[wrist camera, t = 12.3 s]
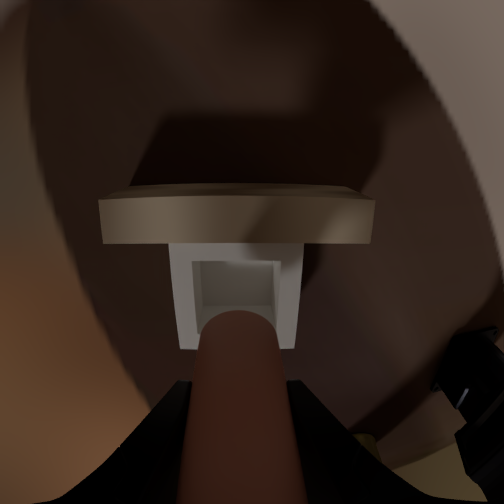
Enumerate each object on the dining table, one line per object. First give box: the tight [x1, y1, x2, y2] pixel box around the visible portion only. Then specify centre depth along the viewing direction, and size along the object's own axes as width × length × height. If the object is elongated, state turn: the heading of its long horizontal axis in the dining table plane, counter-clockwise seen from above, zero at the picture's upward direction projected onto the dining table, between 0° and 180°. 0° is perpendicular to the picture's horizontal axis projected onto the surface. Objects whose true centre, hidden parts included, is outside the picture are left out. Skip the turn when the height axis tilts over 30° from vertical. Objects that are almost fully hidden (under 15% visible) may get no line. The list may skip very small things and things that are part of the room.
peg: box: [176, 310, 308, 504], centre depth 7 cm, size 3×3×9 cm
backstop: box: [99, 183, 375, 244], centre depth 14 cm, size 12×2×4 cm, turn 89°
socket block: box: [169, 243, 304, 349], centre depth 16 cm, size 6×6×4 cm
